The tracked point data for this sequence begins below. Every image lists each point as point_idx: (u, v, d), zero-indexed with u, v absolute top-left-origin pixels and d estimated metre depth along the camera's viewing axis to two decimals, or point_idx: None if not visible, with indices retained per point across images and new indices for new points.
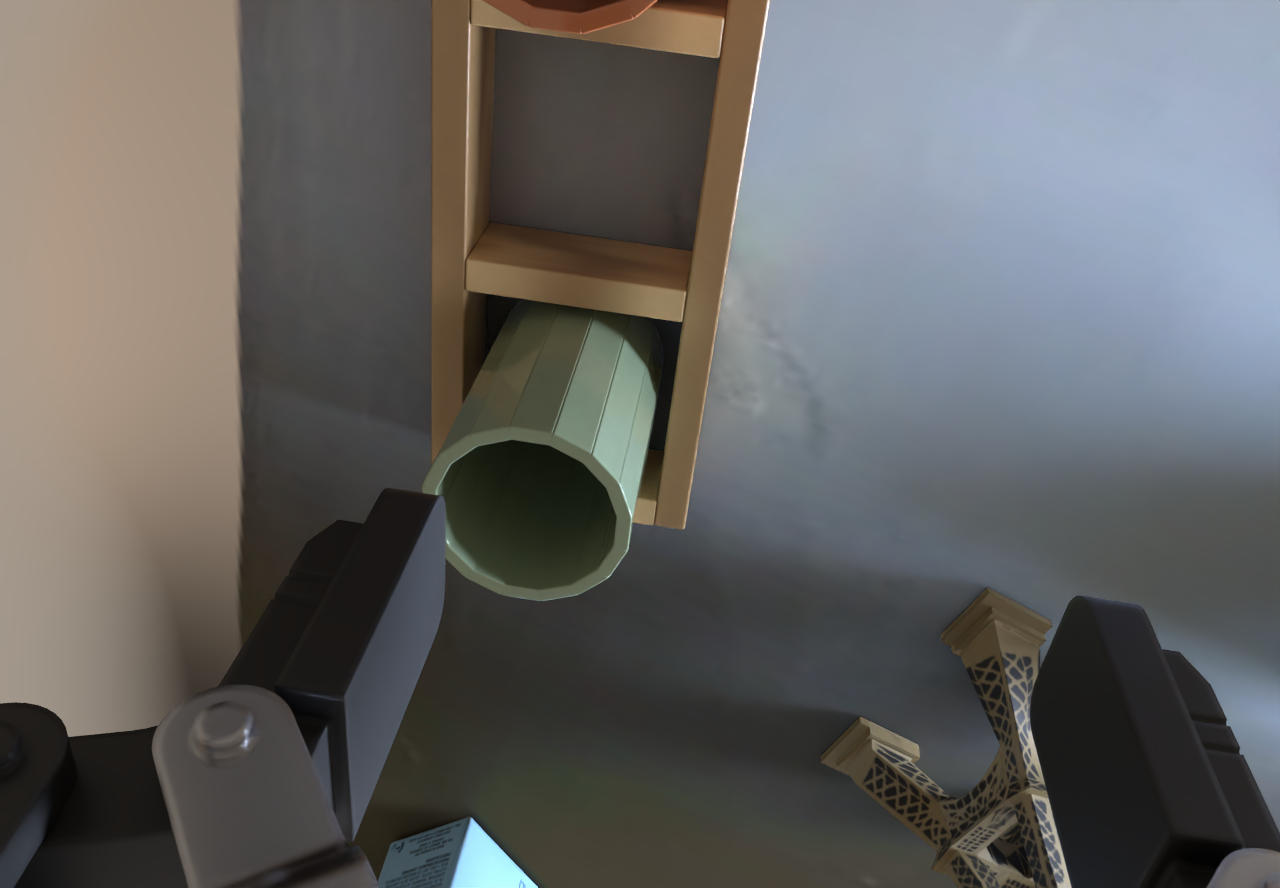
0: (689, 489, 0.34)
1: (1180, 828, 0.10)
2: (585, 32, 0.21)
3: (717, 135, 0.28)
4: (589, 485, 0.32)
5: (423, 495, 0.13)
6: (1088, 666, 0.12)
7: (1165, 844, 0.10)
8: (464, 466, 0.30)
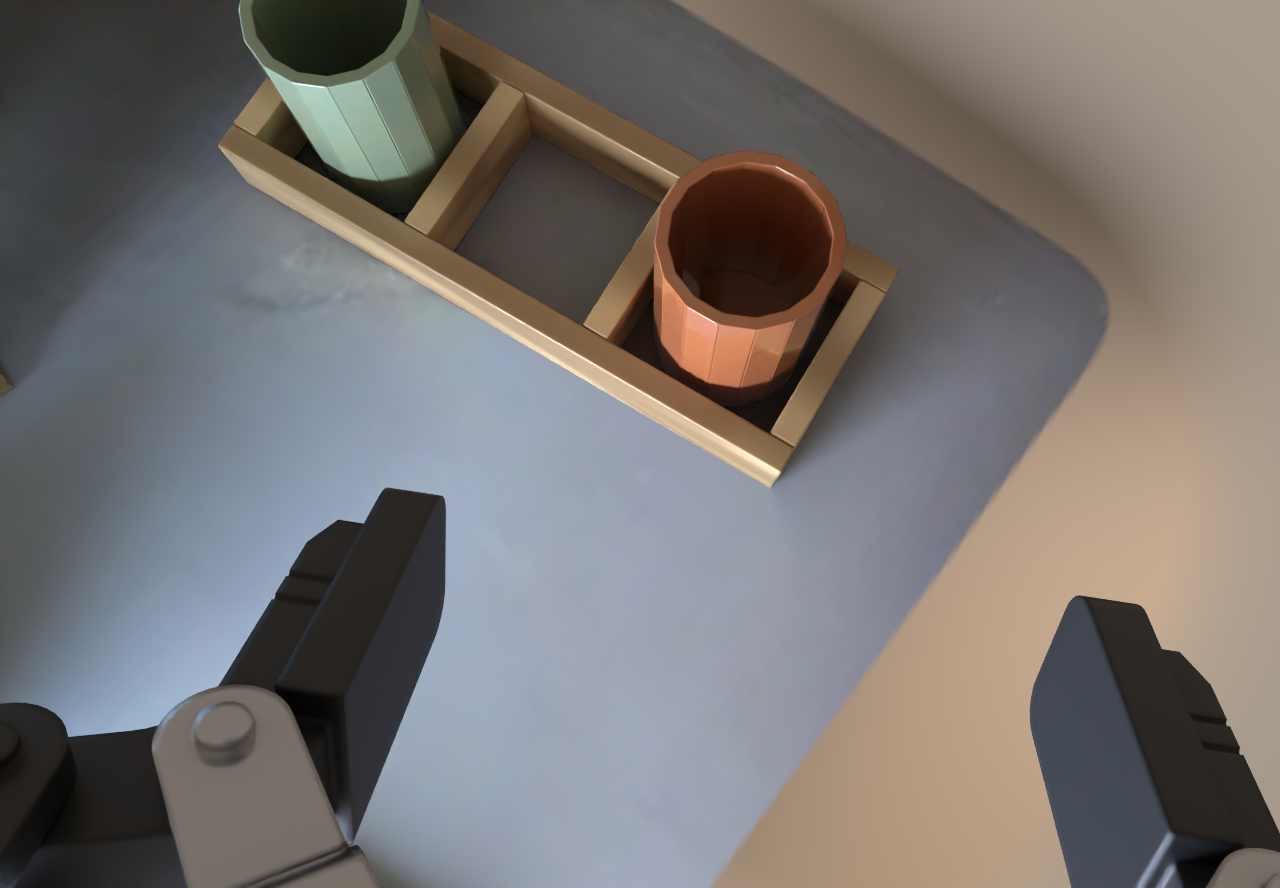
0: (254, 166, 0.38)
1: (1180, 828, 0.10)
2: (659, 212, 0.31)
3: (531, 302, 0.36)
4: None
5: (423, 495, 0.13)
6: (1088, 666, 0.12)
7: (1165, 844, 0.10)
8: None
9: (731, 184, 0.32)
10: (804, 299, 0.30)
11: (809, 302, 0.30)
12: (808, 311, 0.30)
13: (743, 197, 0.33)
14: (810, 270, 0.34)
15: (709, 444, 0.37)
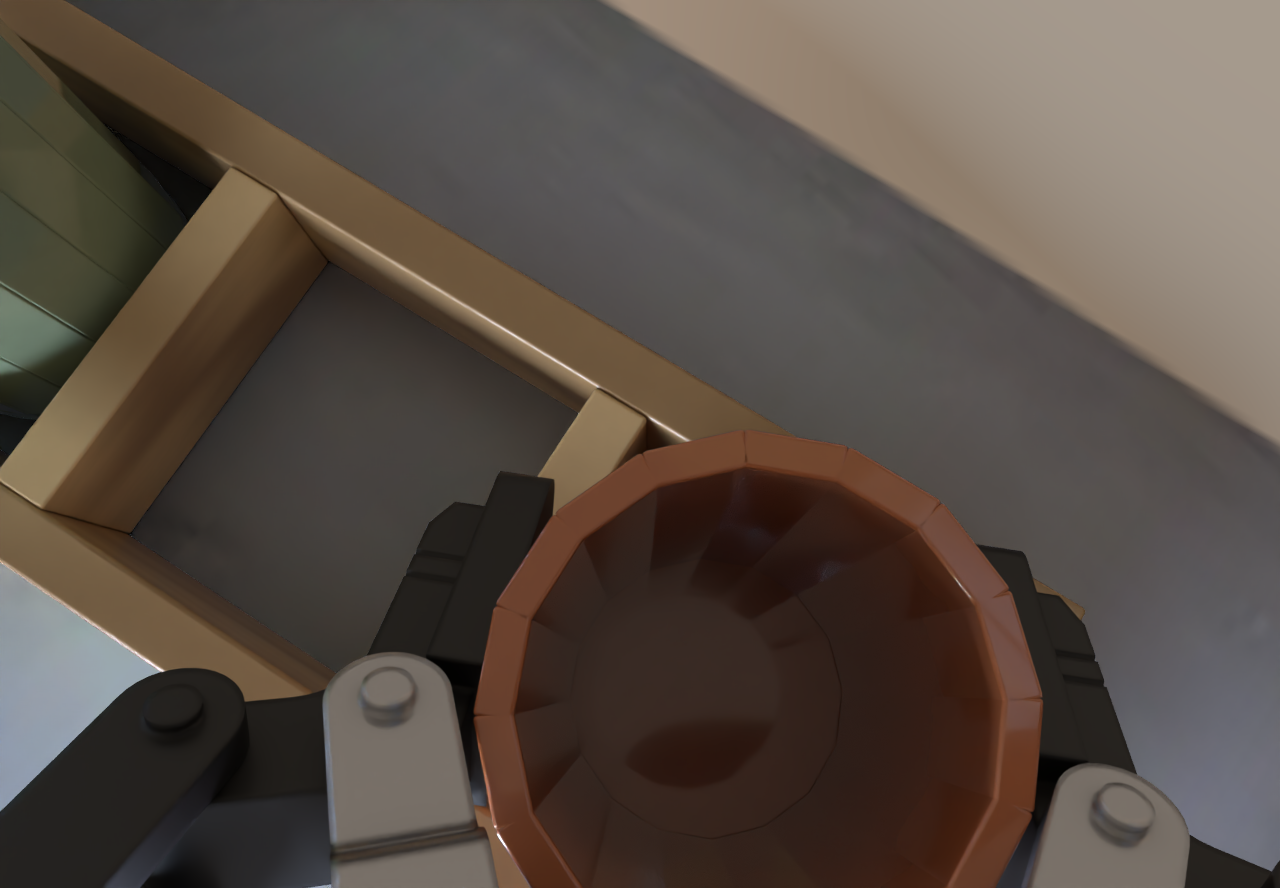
0: None
1: None
2: (494, 610, 0.11)
3: (260, 675, 0.16)
4: None
5: (537, 478, 0.14)
6: None
7: None
8: None
9: (708, 495, 0.12)
10: None
11: None
12: None
13: (741, 505, 0.13)
14: (900, 665, 0.14)
15: None
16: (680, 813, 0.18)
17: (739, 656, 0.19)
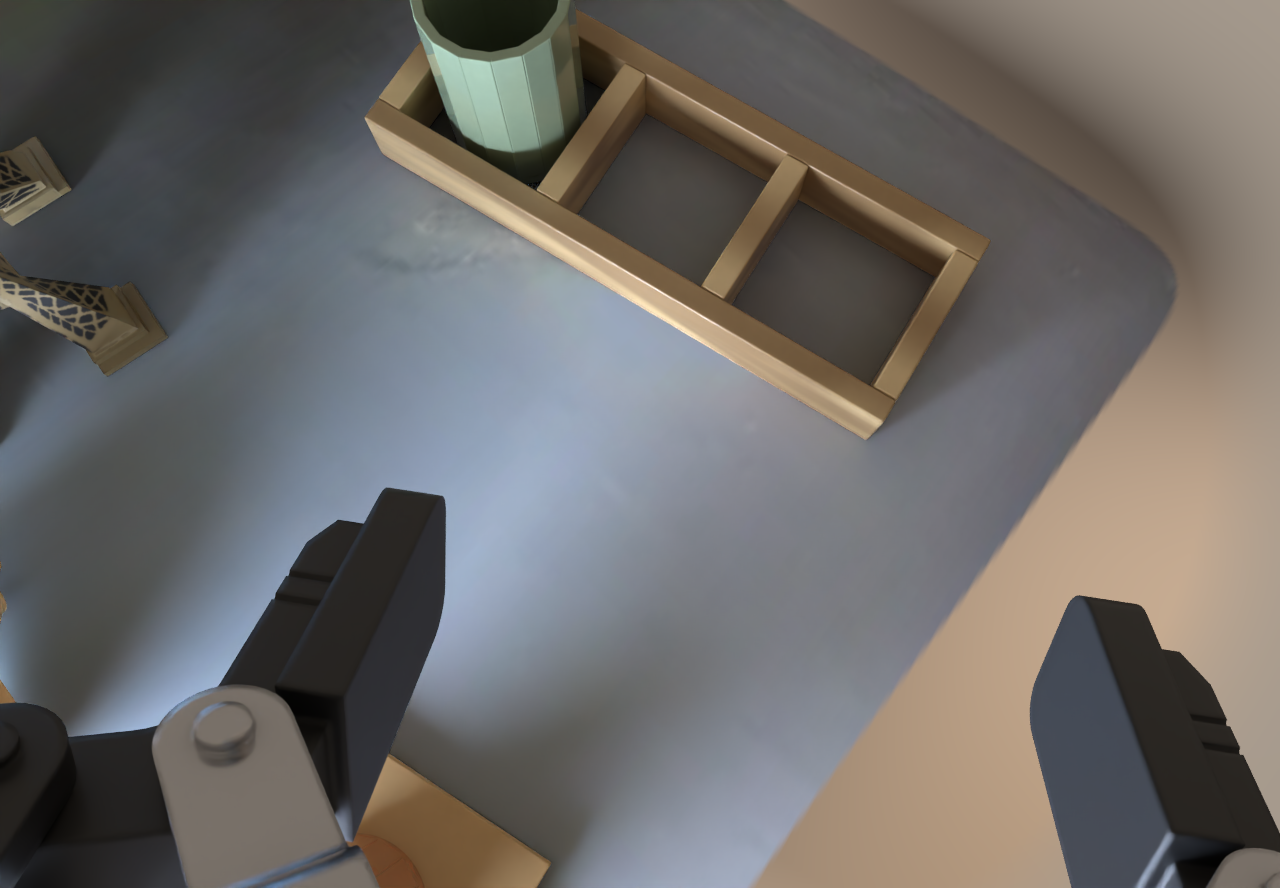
0: (398, 137, 0.41)
1: (1180, 828, 0.10)
2: None
3: (654, 265, 0.40)
4: None
5: (423, 495, 0.13)
6: (1088, 666, 0.12)
7: (1165, 844, 0.10)
8: None
9: None
10: None
11: None
12: None
13: None
14: None
15: (813, 398, 0.41)
16: None
17: None
